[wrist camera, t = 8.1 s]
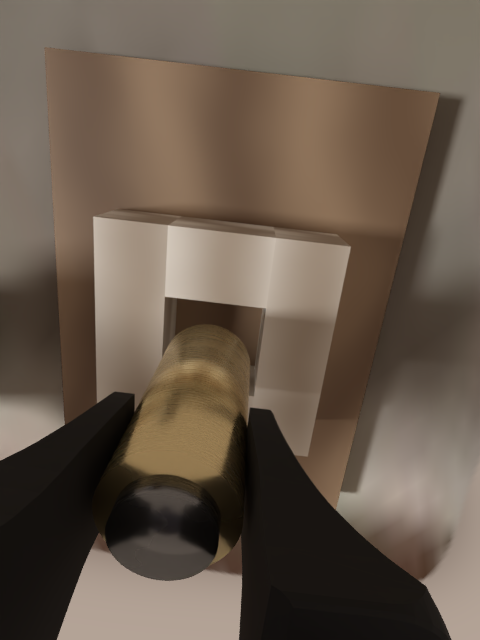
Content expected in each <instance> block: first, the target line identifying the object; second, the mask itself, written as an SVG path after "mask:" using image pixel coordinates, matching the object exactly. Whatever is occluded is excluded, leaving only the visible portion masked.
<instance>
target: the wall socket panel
mask: <svg viewBox="0 0 480 640" xmlns="http://www.w3.org/2000/svg"><path fill="white" fill-rule="evenodd" d="M45 65H46V84H47V102H48V121H49V139H50V158H51V177H52V195H53V214H54V232H55V251H56V269H57V288H58V307H59V325H60V344H61V362H62V381H63V400H64V418H65V425H66V424H67V423H69V422H71V421H72V420H73V419H75V418H76V417H78V416H79V415H81V414H82V413H84V412H85V411H87V410H88V409H90V408H91V407H93V406H94V405H96V404H97V403H98V402H100V401H101V400H103V399H104V398H106V397H107V396H108V395H110V394H111V393H113V392H124V393H132V394H135V410H136V408H137V406H138V404H139V402H140V400H141V398H142V396H143V394H144V392H145V390H146V389H147V387H148V385H149V383H150V381H151V379H152V377H153V375H154V373H155V371H156V369H157V367H158V365H159V363H160V361H161V359H162V357H163V355H164V353H165V351H166V349H167V347H168V345H169V343H170V342H171V340H172V339H173V338H174V337H175V336H176V335H177V334H178V333H179V332H181V331H182V330H184V329H186V328H189V327H192V326H195V325H203V324H207V325H215V326H219V327H222V328H224V329H227V330H229V331H230V332H232V333H233V334H234V335H236V336H237V337H238V338H239V339H240V340H241V341H242V343H243V344H244V346H245V347H246V349H247V352H248V354H249V358H250V380H249V403H248V418H249V411H250V407H251V408H260V409H268V410H271V411H272V412H273V414H274V417H275V419H276V421H277V424H278V426H279V428H280V430H281V432H282V434H283V436H284V438H285V440H286V441H287V443H288V445H289V447H290V448H291V450H292V452H293V453H294V455H295V457H296V459H297V460H298V462H299V463H300V465H301V466H302V468H303V469H304V471H305V472H306V474H307V475H308V477H309V478H310V479H311V481H312V482H313V483H314V485H315V486H316V487H317V489H318V490H319V491H320V493H321V494H322V495H323V496H324V497H325V499H326V500H327V501H328V502H329V503H330V505H331V506H332V507H333V508H334V509H335V510H336V506H337V502H338V498H339V494H340V490H341V486H342V482H343V478H344V474H345V470H346V466H347V462H348V458H349V454H350V450H351V447H352V443H353V439H354V435H355V431H356V427H357V423H358V419H359V415H360V411H361V407H362V403H363V399H364V395H365V391H366V387H367V383H368V379H369V375H370V371H371V367H372V363H373V359H374V355H375V351H376V347H377V343H378V339H379V335H380V331H381V327H382V323H383V319H384V315H385V311H386V307H387V303H388V299H389V295H390V291H391V287H392V283H393V279H394V275H395V271H396V267H397V263H398V259H399V255H400V251H401V247H402V243H403V239H404V235H405V231H406V227H407V223H408V219H409V215H410V211H411V207H412V203H413V199H414V195H415V191H416V187H417V183H418V179H419V175H420V171H421V167H422V163H423V159H424V155H425V151H426V147H427V143H428V140H429V136H430V132H431V128H432V124H433V120H434V116H435V112H436V108H437V104H438V100H439V96H440V93H435V92H427V91H418V90H409V89H401V88H392V87H383V86H375V85H366V84H357V83H349V82H340V81H331V80H323V79H314V78H306V77H297V76H288V75H280V74H271V73H262V72H254V71H245V70H236V69H228V68H219V67H210V66H202V65H193V64H184V63H176V62H167V61H158V60H150V59H141V58H133V57H124V56H115V55H107V54H98V53H89V52H81V51H72V50H63V49H55V48H46V47H45Z"/></svg>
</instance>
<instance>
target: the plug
mask: <svg viewBox="0 0 480 640" xmlns="http://www.w3.org/2000/svg"><path fill="white" fill-rule="evenodd" d="M249 380H250V358H249V354H248V352H247V349H246V347H245V346H244V344H243V343H242V341H241V340H240V339H239V338H238V337H237V336H236V335H234V334H233V333H232V332H230V331H229V330H227V329H224V328H222V327H219V326H215V325H207V324H203V325H195V326H192V327H189V328H186V329H184V330H182V331H181V332H179V333H178V334H177V335H176V336H175V337H174V338H173V339H172V340H171V342H170V343H169V345H168V347H167V349H166V351H165V353H164V355H163V357H162V359H161V361H160V363H159V365H158V367H157V369H156V371H155V373H154V375H153V377H152V379H151V381H150V383H149V385H148V387H147V389H146V390H145V392H144V394H143V396H142V398H141V400H140V402H139V404H138V406H137V408H136V410H135V412H134V414H133V416H132V418H131V420H130V422H129V424H128V426H127V428H126V430H125V432H124V434H123V436H122V438H121V440H120V442H119V444H118V446H117V448H116V450H115V452H114V454H113V456H112V458H111V460H110V462H109V464H108V466H107V468H106V470H105V472H104V474H103V476H102V478H101V480H100V482H99V484H98V486H97V488H96V490H95V493H94V496H93V500H92V512H93V518H94V522H95V524H96V527H97V529H98V531H99V533H100V534H101V536H102V537H103V539H104V540H105V541H106V543H107V546H108V548H109V550H110V552H111V553H112V555H113V556H114V557H115V558H116V560H117V561H118V562H120V564H122V565H123V566H124V567H126V568H127V569H129V570H130V571H132V572H134V573H136V574H139V575H141V576H144V577H147V578H151V579H156V580H165V581H171V580H181V579H185V578H189V577H192V576H194V575H196V574H198V573H200V572H202V571H203V570H204V569H206V568H207V567H208V566H209V565H211V564H213V563H215V562H217V561H218V560H220V559H221V558H223V557H224V556H225V555H227V554H228V553H229V552H230V551H231V550H232V548H233V547H234V546H235V544H236V543H237V541H238V540H239V537H240V535H241V532H242V528H243V515H244V492H245V470H246V442H247V425H248V403H249Z"/></svg>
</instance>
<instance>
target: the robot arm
mask: <svg viewBox="0 0 480 640" xmlns="http://www.w3.org/2000/svg"><path fill="white" fill-rule="evenodd" d="M134 412H135V394H132V393H124V392H113V393H111V394H110V395H108V396H107V397H106V398H104V399H103V400H101V401H100V402H98V403H97V404H96V405H94V406H93V407H91V408H90V409H88V410H87V411H85V412H84V413H82V414H81V415H79V416H78V417H76V418H75V419H73V420H72V421H71V422H69V423H67V424H66V425H64V426H63V427H61V428H59V429H58V430H56V431H54V432H53V433H51V434H49V435H48V436H46V437H44V438H43V439H41V440H39V441H38V442H36V443H34V444H32V445H31V446H29V447H27V448H25V449H23V450H21V451H19V452H17V453H15V454H13V455H11V456H9V457H7V458H5V459H3V460H1V461H0V640H57V637H58V634H59V631H60V628H61V626H62V623H63V620H64V617H65V614H66V612H67V609H68V606H69V603H70V600H71V597H72V595H73V592H74V589H75V587H76V584H77V582H78V579H79V576H80V573H81V571H82V568H83V566H84V563H85V561H86V558H87V556H88V554H89V552H90V550H91V548H92V545H93V543H94V541H95V539H96V537H97V535H98V533H99V531H98V529H97V527H96V524H95V522H94V518H93V512H92V500H93V496H94V493H95V490H96V488H97V486H98V484H99V482H100V480H101V478H102V476H103V474H104V472H105V470H106V468H107V466H108V464H109V462H110V460H111V458H112V456H113V454H114V452H115V450H116V448H117V446H118V444H119V442H120V440H121V438H122V436H123V434H124V432H125V430H126V428H127V426H128V424H129V422H130V420H131V418H132V416H133V414H134ZM241 543H242V599H241V617H240V634H239V640H451V638H450V636H449V633H448V630H447V628H446V625H445V623H444V621H443V619H442V617H441V615H440V612H439V610H438V608H437V607H436V605H435V603H434V601H433V599H432V598H431V595H430V593H429V592H428V589H427V587H426V586H425V585H424V584H422V583H421V582H419V581H418V580H417V579H415V578H414V577H413V576H411V575H410V574H409V573H407V572H406V571H405V570H403V569H402V568H400V567H399V566H398V565H396V564H395V563H394V562H392V561H391V560H390V559H388V558H387V557H386V556H385V555H383V554H382V553H381V552H380V551H379V550H378V549H376V548H375V547H374V546H373V545H372V544H370V543H369V542H368V541H367V540H366V539H365V538H364V537H363V536H361V535H360V534H359V533H358V532H357V531H356V530H355V529H354V528H353V527H352V526H351V525H350V524H349V523H348V522H347V521H346V520H345V519H344V518H343V517H342V516H341V515H340V514H339V513H338V512H337V511H336V510H335V509H334V508H333V507H332V506H331V505H330V503H329V502H328V501H327V500H326V499H325V497H324V496H323V495H322V494H321V493H320V491H319V490H318V489H317V487H316V486H315V485H314V483H313V482H312V481H311V479H310V478H309V477H308V475H307V474H306V472H305V471H304V469H303V468H302V466H301V465H300V463H299V462H298V460H297V459H296V457H295V455H294V453H293V452H292V450H291V448H290V447H289V445H288V443H287V441H286V440H285V438H284V436H283V434H282V432H281V430H280V428H279V426H278V424H277V421H276V419H275V417H274V414H273V412H272V411H271V410H268V409H260V408H251V407H250V411H249V418H248V425H247V442H246V470H245V492H244V515H243V528H242V532H241Z"/></svg>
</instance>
